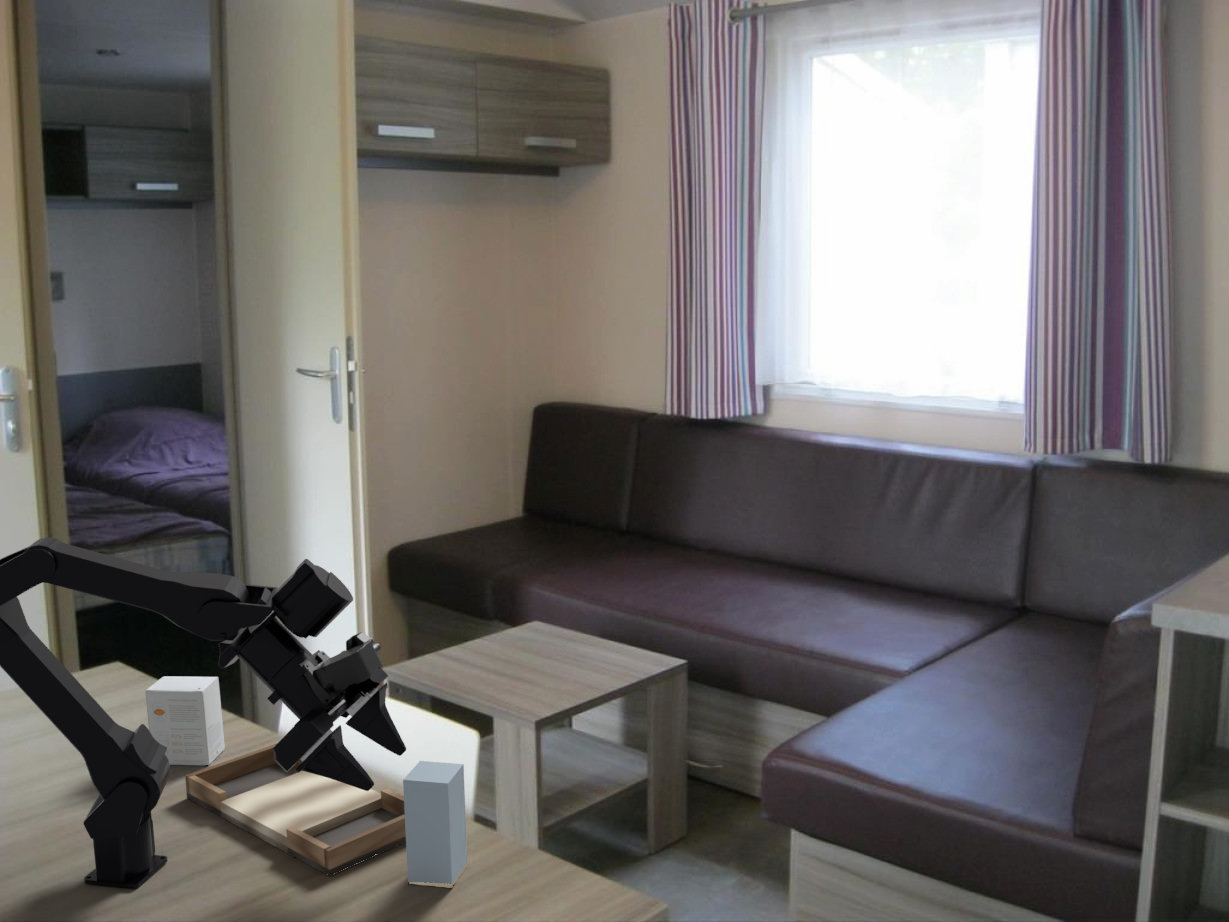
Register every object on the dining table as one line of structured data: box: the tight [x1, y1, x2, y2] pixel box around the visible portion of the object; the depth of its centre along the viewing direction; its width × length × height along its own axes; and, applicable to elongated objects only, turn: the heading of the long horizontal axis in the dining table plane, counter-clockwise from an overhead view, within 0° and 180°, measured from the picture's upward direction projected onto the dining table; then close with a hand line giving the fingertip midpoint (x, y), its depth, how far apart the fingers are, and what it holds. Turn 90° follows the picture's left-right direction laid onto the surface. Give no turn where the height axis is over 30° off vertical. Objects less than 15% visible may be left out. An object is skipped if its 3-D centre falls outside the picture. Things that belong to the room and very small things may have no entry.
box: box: [184, 743, 406, 877], centre depth 157 cm, size 30×14×3 cm, turn 48°
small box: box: [144, 675, 226, 766], centre depth 173 cm, size 8×6×10 cm
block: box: [402, 760, 468, 884], centre depth 141 cm, size 5×5×12 cm
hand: (387, 769), depth 141 cm, fingers open, 9 cm apart
